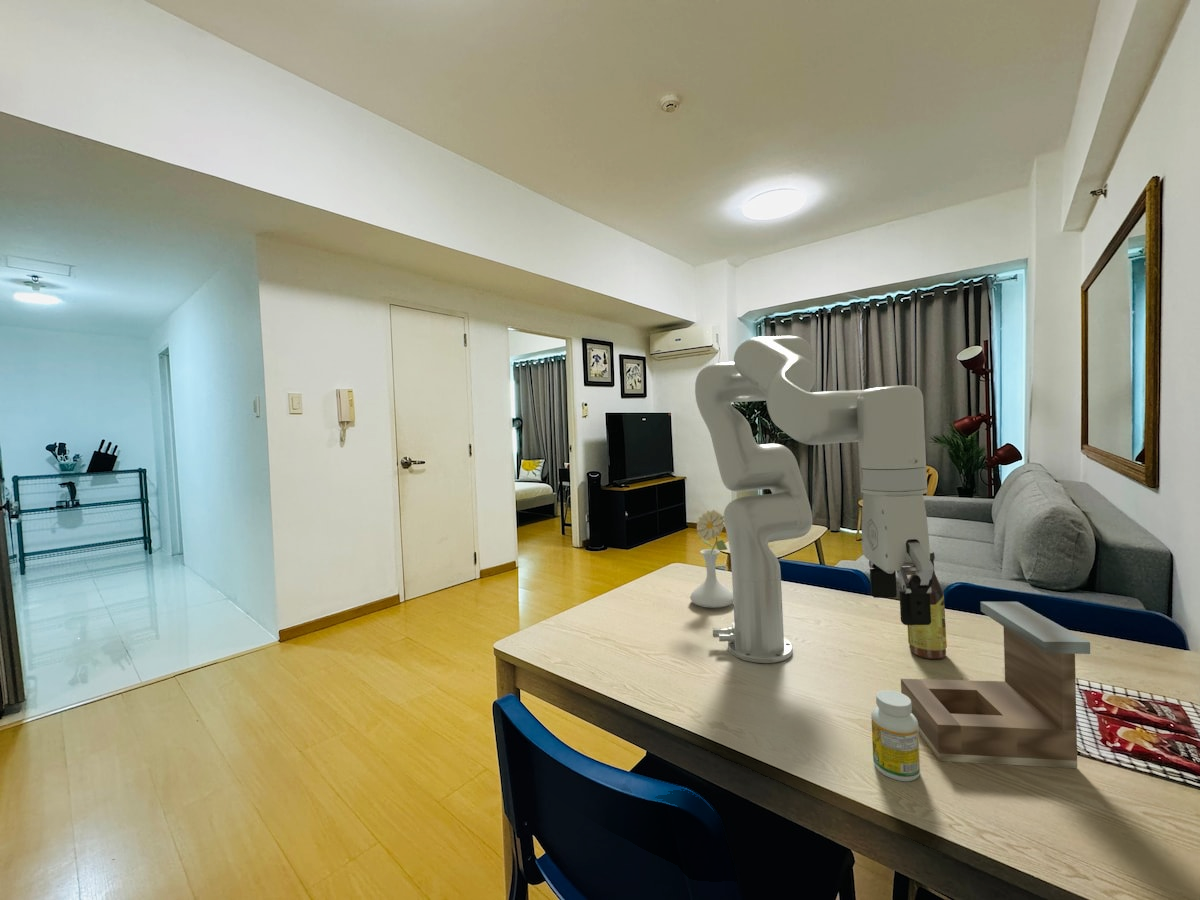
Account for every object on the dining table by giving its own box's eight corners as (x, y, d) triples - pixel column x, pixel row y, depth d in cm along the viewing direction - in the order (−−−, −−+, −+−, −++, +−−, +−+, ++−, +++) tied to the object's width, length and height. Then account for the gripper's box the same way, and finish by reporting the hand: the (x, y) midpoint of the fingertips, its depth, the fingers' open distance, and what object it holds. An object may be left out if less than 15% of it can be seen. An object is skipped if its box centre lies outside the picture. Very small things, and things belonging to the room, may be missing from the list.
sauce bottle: (953, 661, 92) (950, 555, 91) (916, 660, 93) (912, 556, 92) (937, 645, 98) (933, 546, 97) (902, 644, 99) (898, 547, 98)
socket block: (942, 765, 65) (938, 640, 65) (899, 705, 79) (895, 601, 78) (1092, 774, 62) (1090, 642, 61) (1020, 710, 76) (1017, 601, 75)
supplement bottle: (916, 789, 62) (913, 714, 61) (868, 771, 65) (866, 701, 65) (923, 764, 66) (920, 694, 65) (877, 749, 69) (875, 683, 69)
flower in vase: (683, 600, 132) (677, 507, 131) (720, 593, 135) (715, 503, 134) (707, 617, 119) (701, 515, 118) (748, 609, 123) (743, 509, 122)
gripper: (841, 476, 74) (847, 588, 75) (888, 490, 57) (895, 637, 58) (895, 473, 73) (901, 588, 73) (960, 487, 56) (967, 637, 56)
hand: (898, 609), depth 66 cm, fingers open, 9 cm apart
